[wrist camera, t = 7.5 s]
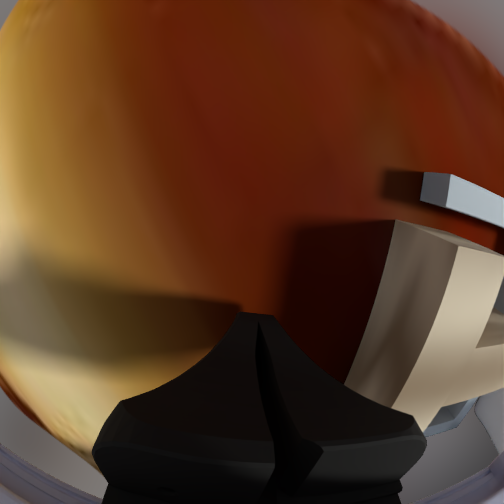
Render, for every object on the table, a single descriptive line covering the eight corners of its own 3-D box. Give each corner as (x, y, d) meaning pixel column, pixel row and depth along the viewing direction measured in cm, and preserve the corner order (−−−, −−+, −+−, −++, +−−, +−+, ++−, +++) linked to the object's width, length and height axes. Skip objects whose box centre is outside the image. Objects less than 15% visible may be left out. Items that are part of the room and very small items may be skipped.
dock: (446, 411, 14) (456, 427, 12) (337, 430, 13) (344, 452, 12) (526, 216, 10) (547, 223, 8) (424, 172, 9) (450, 174, 8)
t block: (450, 392, 13) (477, 429, 9) (333, 406, 13) (351, 465, 9) (510, 249, 10) (557, 272, 6) (395, 219, 10) (458, 245, 6)
